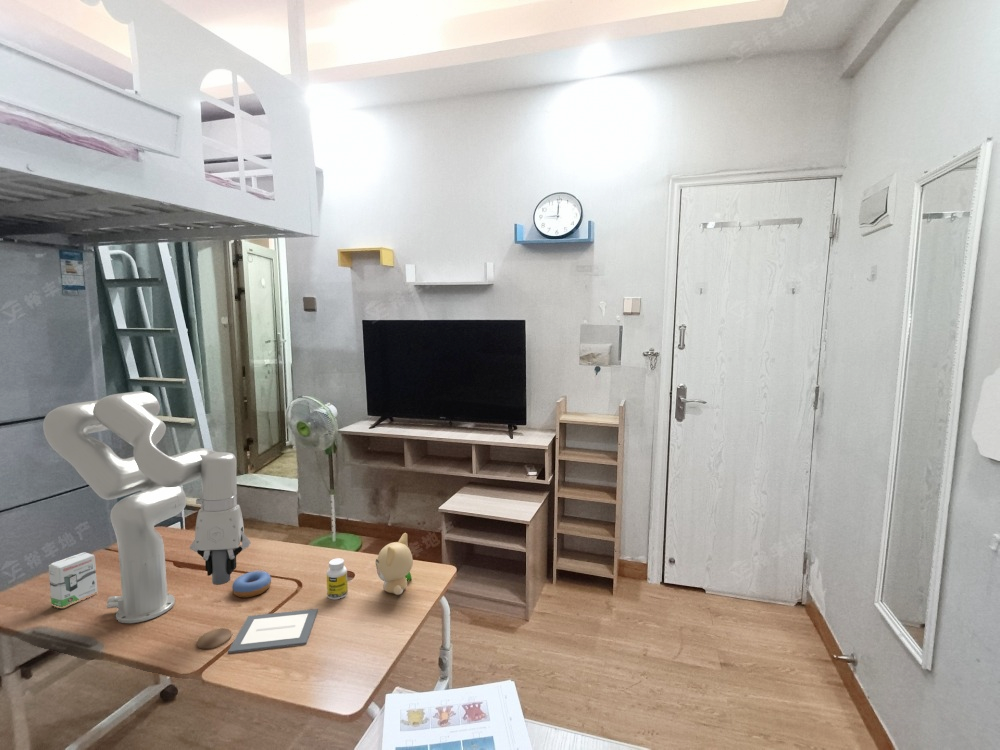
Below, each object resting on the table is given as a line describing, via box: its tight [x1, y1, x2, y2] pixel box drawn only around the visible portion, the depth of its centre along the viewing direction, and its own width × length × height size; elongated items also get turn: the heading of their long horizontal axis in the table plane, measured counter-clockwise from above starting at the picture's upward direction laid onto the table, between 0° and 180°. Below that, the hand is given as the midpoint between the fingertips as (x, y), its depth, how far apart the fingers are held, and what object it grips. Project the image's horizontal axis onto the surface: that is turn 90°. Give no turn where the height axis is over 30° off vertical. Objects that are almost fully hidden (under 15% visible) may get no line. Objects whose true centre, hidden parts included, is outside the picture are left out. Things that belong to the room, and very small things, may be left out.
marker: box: [211, 550, 231, 586], centre depth 121 cm, size 4×4×11 cm
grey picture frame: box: [227, 608, 319, 654], centre depth 118 cm, size 17×14×1 cm
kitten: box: [375, 532, 414, 596], centre depth 136 cm, size 15×10×15 cm, turn 164°
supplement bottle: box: [326, 557, 349, 600], centre depth 134 cm, size 5×5×10 cm
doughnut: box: [231, 570, 272, 598], centre depth 137 cm, size 10×10×5 cm
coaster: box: [197, 627, 233, 650], centre depth 115 cm, size 7×7×1 cm
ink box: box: [48, 551, 98, 607], centre depth 132 cm, size 9×5×12 cm, turn 159°
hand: (221, 571), depth 122 cm, fingers closed on marker, 3 cm apart
